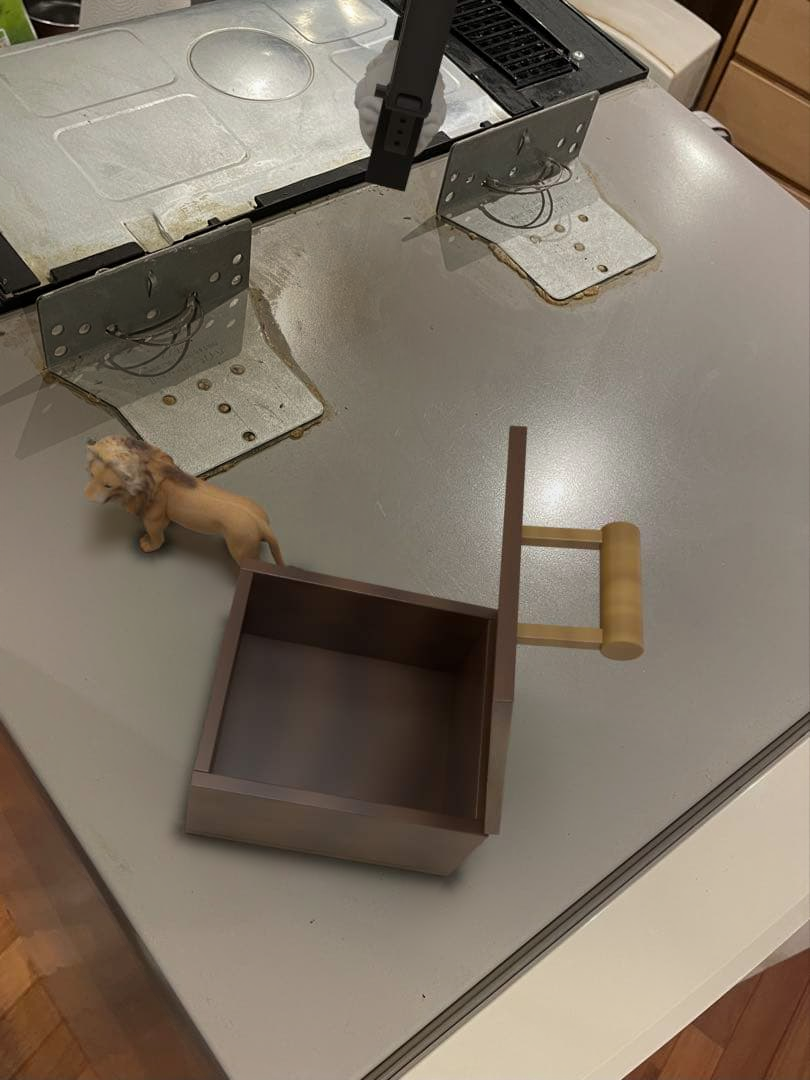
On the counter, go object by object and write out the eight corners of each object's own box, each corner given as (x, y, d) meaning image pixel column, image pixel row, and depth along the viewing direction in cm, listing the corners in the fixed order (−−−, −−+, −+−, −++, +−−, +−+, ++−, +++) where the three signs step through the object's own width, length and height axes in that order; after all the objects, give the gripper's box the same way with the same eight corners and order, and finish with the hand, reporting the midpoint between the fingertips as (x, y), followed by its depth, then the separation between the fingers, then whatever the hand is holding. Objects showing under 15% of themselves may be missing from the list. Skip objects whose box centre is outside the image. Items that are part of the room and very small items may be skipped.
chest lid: (492, 701, 37) (656, 713, 37) (509, 424, 45) (646, 432, 44) (483, 834, 51) (603, 845, 51) (498, 605, 59) (602, 613, 58)
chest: (184, 832, 57) (189, 785, 50) (232, 625, 64) (242, 557, 57) (447, 876, 59) (489, 837, 51) (463, 670, 66) (502, 609, 59)
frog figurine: (434, 128, 69) (461, 35, 64) (431, 193, 66) (458, 100, 60) (349, 108, 69) (368, 11, 63) (341, 173, 65) (360, 76, 59)
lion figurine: (76, 551, 65) (66, 472, 57) (104, 487, 68) (98, 404, 60) (294, 609, 66) (312, 539, 58) (312, 543, 69) (332, 469, 61)
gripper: (562, -137, 43) (433, 259, 62) (563, -306, 54) (453, 76, 73) (394, -188, 42) (315, 231, 61) (430, -349, 53) (354, 49, 72)
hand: (391, 146), depth 67 cm, fingers closed on frog figurine, 7 cm apart
